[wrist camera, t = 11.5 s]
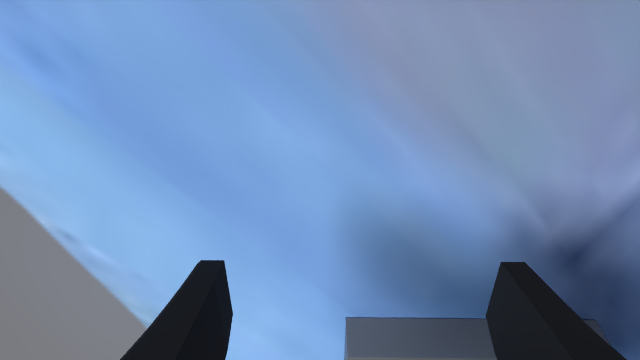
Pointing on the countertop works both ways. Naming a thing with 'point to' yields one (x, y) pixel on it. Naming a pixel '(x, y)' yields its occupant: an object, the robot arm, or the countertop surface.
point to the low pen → (423, 339)
